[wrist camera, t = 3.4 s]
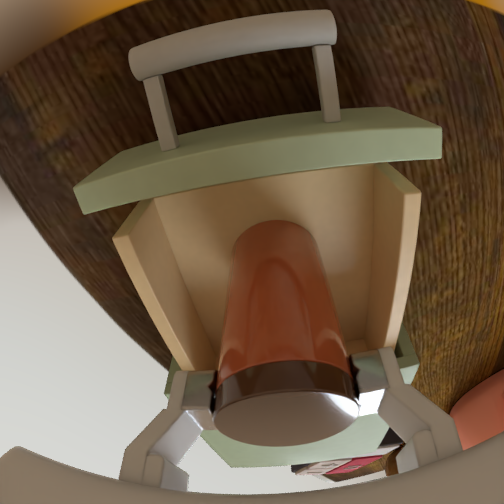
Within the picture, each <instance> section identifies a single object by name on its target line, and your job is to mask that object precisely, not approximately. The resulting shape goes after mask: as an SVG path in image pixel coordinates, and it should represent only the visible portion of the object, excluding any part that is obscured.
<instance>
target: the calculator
mask: <svg viewBox="0 0 504 504" xmlns="http://www.w3.org/2000/svg"><path fill="white" fill-rule="evenodd" d="M402 443H403V440H402V439H401V438H400V437H399V436H398V435H397V434H396V433H395V432H394V431H393V430H392V428H391V427H389V429H388V431H387V433H386V434H385V436H384V438H383V440H382V441H381V443H380V445H379V447H378V448H377V450H376V452H372V453H367V454H362V455H357V456H352V457H347V458H341V459H335V460H329V461H322V462H314V463H306V464H297V465H291V471H292V472H294V473H295V474H296V475H317V474H324V473H326V474H334V473H346V472H351V471H354V470H356V469H358V468H360V467H362V466H365V465H367V464H369V463H371V462H373V461H375V460H377V459H379V458H381V457H382V455H383V454H386V453H388V452H390V451H392V450H394V449H396V448H397V447H399V445H400V444H402Z"/></svg>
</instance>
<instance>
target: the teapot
mask: <svg viewBox="0 0 504 504" xmlns="http://www.w3.org/2000/svg"><path fill="white" fill-rule="evenodd" d="M449 416H451V417H452V418H453V419H454V422H455V425H456V428H457V432H458V435H459V438H460V441H461V445H462V448H463V451H464V450H466V449H468V448H470V447H473V446H475V445H477V444H479V443H481V442H483V441H485V440H487V439H489V438H491V437H493V436H495V435H497V434H499V433H501V432H503V431H504V369H503V370H501V371H499V372H497V373H496V374H494V375H492V376H491V377H489V378H487V379H486V380H484V381H483V382H481V383H479V384H478V385H476V386H475V387H474V388H472V389H471V390H470V391H468V392H467V393H466V394H465V395H464V396H462V397H461V398H460V399H459V400H458V401H457V403H456V404H455V405H454V406H453V408H452V409H451V412H450V415H449Z"/></svg>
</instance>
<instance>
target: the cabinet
mask: <svg viewBox="0 0 504 504" xmlns="http://www.w3.org/2000/svg"><path fill="white" fill-rule="evenodd" d="M394 354H395V356H396V359H397V362H398V365H399V368H400V371H401V374H402V377H403V380H404V383H405V384H410V385H411V383H412V380H413V378H414V376H415V374H416V371H417V369H418V367H419V361H418V358H417V356H416V354H415V351H414V349H413V346H412V344H411V341H410V339H409V336H408V334H407V332H406V329H405V327H404V325H403V322H402V323H401V327H400V331H399V335H398V339H397V343H396V347H395V350H394ZM176 371H182V369H181V368H180V366H179V365H178V363H177V361H176V360H175V358H174V356H173V357H172V361H171V365H170V369H169V374H168V378H167V384H166V387H165V392H164V394H165V396H166V397H167V398H168V399H169V396H170V391H171V386H172V382H173V377H174V374H175V373H176ZM377 413H378V412H377ZM377 413H372V414H367V415H362V416H358V418H357V419H356V420H355V422H354V423H353V424H352V425H351V426H349V427H348V428H347V429H345V430H343V431H342V432H340V433H338V434H336V435H334V436H331V437H329V438H326V439H323V440H320V441H317V442H313V443H308V444H303V445H296V446H285V447H268V446H257V445H251V444H246V443H242V442H239V441H236V440H233V439H231V438H228V437H227V436H225V435H223V434H222V433H220V432H219V431H218V430H202V433H201V434H200V436H201V437H202V438H203V439H204V440H205V441H206V443H208V445H209V446H210V447H211V448H212V449H213V450H214V451H215V452H216V453H217V454H218V455H219V456H220V457H221V458H222V459H223V460H224V461H225V462H226V463H227V464H228V465H229V466H230V467H270V466H285V465H297V464H306V463H314V462H322V461H329V460H335V459H341V458H347V457H352V456H357V455H362V454H367V453H372V452H376V450H377V448H378V447H379V445H380V443H381V441H382V440H383V438H384V436H385V434H386V433H387V431H388V429H389V427H390V426H389V425H388V424H387V423H386V422H385V421H384V420H383V419H382V418H381V417H380V416H379V415H378V414H377Z"/></svg>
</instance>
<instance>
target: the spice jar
mask: <svg viewBox="0 0 504 504" xmlns="http://www.w3.org/2000/svg"><path fill="white" fill-rule="evenodd" d="M359 413H360V406H359V401H358V397H357V392H356V387H355V383H354V378H353V374H352V370H351V365H350V361H349V357H348V353H347V349H346V345H345V341H344V337H343V333H342V329H341V325H340V321H339V317H338V314H337V310H336V306H335V302H334V299H333V295H332V292H331V288H330V285H329V281H328V278H327V274H326V271H325V267H324V264H323V260H322V257H321V254H320V251H319V247H318V244H317V242H316V240H315V238H314V237H313V236H312V234H311V233H310V232H309V231H307V230H306V229H305V228H303V227H302V226H300V225H298V224H296V223H293V222H289V221H284V220H269V221H264V222H261V223H258V224H255V225H253V226H251V227H250V228H248V229H247V230H245V231H244V232H243V233H242V234H241V235H240V236H239V237H238V239H237V240H236V242H235V243H234V246H233V248H232V252H231V260H230V268H229V276H228V284H227V293H226V301H225V310H224V319H223V327H222V336H221V345H220V355H219V364H218V373H217V383H216V393H215V403H214V413H213V423H214V425H215V427H216V429H217V430H218V431H219V432H220V433H222V434H223V435H225V436H227V437H228V438H231V439H233V440H236V441H239V442H242V443H246V444H251V445H257V446H268V447H285V446H296V445H303V444H308V443H313V442H317V441H320V440H323V439H326V438H329V437H331V436H334V435H336V434H338V433H340V432H342V431H343V430H345V429H347V428H348V427H349V426H351V425H352V424H353V423H354V422H355V420H356V419H357V418H358V415H359Z"/></svg>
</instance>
